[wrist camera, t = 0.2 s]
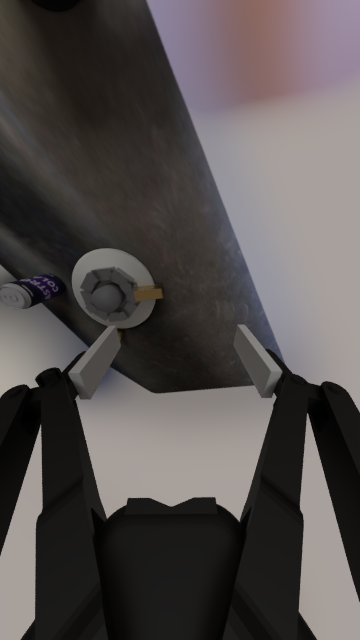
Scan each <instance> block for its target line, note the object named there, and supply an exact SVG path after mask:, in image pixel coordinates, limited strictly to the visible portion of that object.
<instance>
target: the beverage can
mask: <svg viewBox="0 0 360 640" xmlns="http://www.w3.org/2000/svg"><path fill="white" fill-rule="evenodd" d="M63 291H64V285H63V283H62V281H61V280H60V279H59V278H58V277H57V276H55V275H52V274H45V275H40V276H36V277H32V278H27V279H23V280H18V281H15V282H10V283H6V284H5V285H3V286H2V287H0V300H1V301H2V302H3V303H4V304H5V305H6V306H8V307H10V308H12V309H27V308H29V307H32V306H34V305H36V304H39V303H41V302H43V301H46V300H48V299H51V298H53V297H55V296H58V295H60V294H62V293H63Z"/></svg>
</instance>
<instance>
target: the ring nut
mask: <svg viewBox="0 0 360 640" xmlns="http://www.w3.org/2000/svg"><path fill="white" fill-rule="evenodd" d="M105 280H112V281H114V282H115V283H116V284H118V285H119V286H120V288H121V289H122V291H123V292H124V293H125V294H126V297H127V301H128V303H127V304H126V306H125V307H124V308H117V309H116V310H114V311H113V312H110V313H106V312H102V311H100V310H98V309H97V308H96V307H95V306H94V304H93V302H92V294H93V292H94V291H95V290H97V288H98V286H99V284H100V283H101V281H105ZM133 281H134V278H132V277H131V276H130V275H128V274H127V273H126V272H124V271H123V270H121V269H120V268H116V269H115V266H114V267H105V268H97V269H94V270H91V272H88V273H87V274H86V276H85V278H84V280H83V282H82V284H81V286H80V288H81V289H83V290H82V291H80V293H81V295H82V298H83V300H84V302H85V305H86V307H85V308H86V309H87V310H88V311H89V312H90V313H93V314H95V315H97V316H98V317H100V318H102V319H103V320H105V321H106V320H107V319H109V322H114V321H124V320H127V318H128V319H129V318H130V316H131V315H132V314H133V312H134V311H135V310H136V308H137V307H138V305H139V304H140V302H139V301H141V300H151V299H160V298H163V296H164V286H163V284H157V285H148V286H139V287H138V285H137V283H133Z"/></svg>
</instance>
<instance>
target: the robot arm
mask: <svg viewBox="0 0 360 640" xmlns="http://www.w3.org/2000/svg"><path fill="white" fill-rule="evenodd" d="M32 1H33V2H34V3H36V4H38V5H39V6H41V7H43V8H46V9H49V10H54V11H61V10H65V9H68V8H70V7H72V6H73V5H74V4H76V3H77V2H78V1H79V0H32ZM120 347H121V345H120V341H119V336H118V332H117V328H116V326H108V327H107V329H106V330H105V331H104V332H103V333H102V334H101V336H100V337H99V338H98V339H97V340H96V341H95V342H94V344H93V345H92V346H91V347H90V348H89V349H88V351H83V352H82V353H80V354H79V355H78V356H77V357H76V358H75V359H74V360H73V361H72V362H71V364H69V365H68V366H67V368H66V369H65V370H64V371H63V372H62V373H61V371H60V369H59V368H50V369H47V370H45V371H43V372H42V373H40V374H39V375H38V376H37V377H36V379H35V380H36V382H37V384H38V385H39V387H35V388H32V389H30V388H29V387H28V386H27V385H24V384H23V385H19V386H16V387H13V388H11V389H9V390H8V391H7V392H5V393H4V394H3V395H2V396H1V398H0V555H1V551H2V548H3V545H4V542H5V538H6V535H7V532H8V529H9V526H10V522H11V519H12V515H13V513H14V510H15V506H16V503H17V500H18V497H19V493H20V490H21V487H22V484H23V480H24V477H25V474H26V470H27V467H28V464H29V461H30V458H31V454H32V451H33V448H34V444H35V441H36V438H37V435H38V432H39V428H40V425H41V432H42V433H41V437H42V487H43V488H42V489H43V490H42V491H43V509H42V513H41V514H40V515H39V516H38V519H37V523H36V580H35V582H36V584H35V585H36V587H35V588H36V589H35V594H36V595H35V597H36V598H35V620H34V622H33V623H32V624H31V626H30V627H29V629H28V630H27V631H26V633H25V634H24V636H23V637H22V639H21V640H317V639H316V637H315V636H314V634H313V633H312V631H311V630H310V628H309V627H308V625H307V623H306V622H305V620H304V619H303V617H302V616H301V614H300V613H299V610H298V609H299V594H300V577H301V561H302V544H303V528H304V524H303V523H304V520H303V514H302V513H301V511H300V493H301V480H302V469H303V456H304V444H305V432H306V419H307V413H308V415H309V418H310V422H311V426H312V430H313V433H314V437H315V441H316V445H317V448H318V452H319V456H320V460H321V463H322V467H323V471H324V474H325V478H326V482H327V486H328V489H329V493H330V497H331V500H332V504H333V508H334V511H335V515H336V519H337V523H338V527H339V530H340V534H341V538H342V542H343V545H344V549H345V553H346V557H347V560H348V564H349V568H350V571H351V575H352V579H353V582H354V585H355V588H356V592H357V595H358V598H359V602H360V412H359V411H358V409H357V407H356V405H355V404H354V402H353V400H352V398H351V397H350V395H349V393H348V392H347V391H346V390H345V389H344V388H342V387H341V386H339V385H337V384H335V383H332V382H328V381H325V382H323V383H322V384H321V386H318V385H315V384H310V383H308V382H307V381H306V380H305V379H304V378H302V377H300V376H299V375H295V374H293V373H292V372H291V371H290V370H289V369H288V368H287V366H286V365H285V364H284V363H283V362H282V361H281V360H280V359H279V358H278V356H277V355H276V354H275V353H274V352H272V351H271V350H269V349H264V348H263V347H262V345H261V344H260V343H259V342H258V341H257V339H256V338H255V337H254V336H253V334H252V333H251V332H250V331H249V329H248V328H247V327H246V326H245V325H237V330H236V335H235V340H234V347H235V349H236V351H237V353H238V355H239V357H240V358H241V360H242V362H243V364H244V366H245V368H246V370H247V372H248V373H249V375H250V377H251V379H252V381H253V383H254V385H255V387H256V388H257V390H258V392H259V394H260V396H261V397H262V398H271V397H272V395H273V393H275V395H276V397H277V398H276V400H275V402H274V405H273V411H272V415H271V418H270V422H269V425H268V428H267V432H266V435H265V439H264V442H263V446H262V449H261V453H260V456H259V460H258V463H257V466H256V470H255V473H254V477H253V480H252V484H251V487H250V491H249V494H248V498H247V501H246V503H245V506H244V509H243V512H242V515H241V518H240V522H239V521H238V520H237V519H236V518H235V517H234V516H233V515H232V514H231V513H230V512H229V511H227V510H226V509H225V508H223V507H222V506H220V505H218V504H216V499H215V497H202V498H192V499H189V500H188V501H185V502H182V503H180V504H178V505H175V506H173V507H170V506H167V505H165V504H162V503H160V502H158V501H155V500H153V499H151V498H128V500H127V505H126V506H123V507H122V508H120V509H118V510H117V511H116V512H114V513H113V514H112V515H111V516H110V517H109V518H108V519H107V518H106V514H105V511H104V508H103V505H102V503H101V500H100V497H99V493H98V489H97V485H96V480H95V477H94V472H93V468H92V464H91V460H90V456H89V452H88V448H87V444H86V440H85V436H84V431H83V427H82V423H81V419H80V415H79V411H78V407H77V403H76V400H75V398H76V396H77V395H79V397H80V399H91V398H92V396H93V394H94V392H95V391H96V389H97V387H98V385H99V384H100V382H101V380H102V378H103V377H104V375H105V373H106V371H107V370H108V368H109V366H110V364H111V363H112V361H113V359H114V357H115V356H116V354H117V352H118V350H119V349H120Z"/></svg>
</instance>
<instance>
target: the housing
mask: <svg viewBox="0 0 360 640" xmlns="http://www.w3.org/2000/svg"><path fill="white" fill-rule="evenodd" d="M114 266H115V269H116V268H120V269H121V270H123V271H124V272H126V273H127V274H128V275H130V276H131V277H132V278H134V281H133V283H137V285H138V287H139V286H148V285H155V284H154V281H153V278H152V276H151V274H150V272H149V271H148V270H147V268H146V267H145V266H144V265H143V264H142V263H141V262H140V261H139V260H138V259H137V258H135V257H134V256H132V255H131V254H129V253H127V252H124V251H121V250H118V249H111V248H106V249H97V250H93V251H91V252H89V253H87V254H85V255H84V256H83V257H82V258H80V260H79V261H78V262H77V264H76V266H75V268H74V270H73V275H72V287H73V291H74V294H75V297H76V299H77V301H78V303H79V304H80V306H81V307H82V309H83V310H84V311H85V312H86V313H87V314H88V315H89V316H90V317H92V318H93V319H94V320H96V321H97V322H99V323H101V324H103V325H106V326H116V328H131V327H134V326H137V325H139V324H140V323H142V322H143V321H145V320H146V319H147V318H148V317H149V315H150V314H151V312H152V310H153V308H154V305H155V301H156V299H151V300H141V301H139V302H140V304H139V305H138V307H137V308H136V310H135V311H134V312H133V314H132V315H131V316H130V318H129V319H128V318H127V320H124V321H114V322H109V319H107V320H106V321H105V320H103V319H102V318H100V317H98V316H97V315H95V314H93V313H90V312H89V311H88V310H87V309H86V308H85V307H86V305H85V302H84V300H83V298H82V295H81V293H80V291H82V290H83V289H81V288H80V286H81V284H82V282H83V280H84V278H85V276H86V274H87V273H88V272H91V270H94V269H97V268H105V267H114ZM92 302H93V304H94V306H95V307H96V308H97V309H98V310H100V311H102V312H106V313H110V312H113V311H114V310H116V309H117V308H124V307H125V306H126V304H127V303H128V301H127V297H126V294H125V293H124V292H123V291H122V289H121V288H120V286H119V285H118V284H116V283H115V282H114V281H112V280H105V281H101V283H100V284H99V286H98V288H97V290H95V291H94V292H93V294H92Z"/></svg>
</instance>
